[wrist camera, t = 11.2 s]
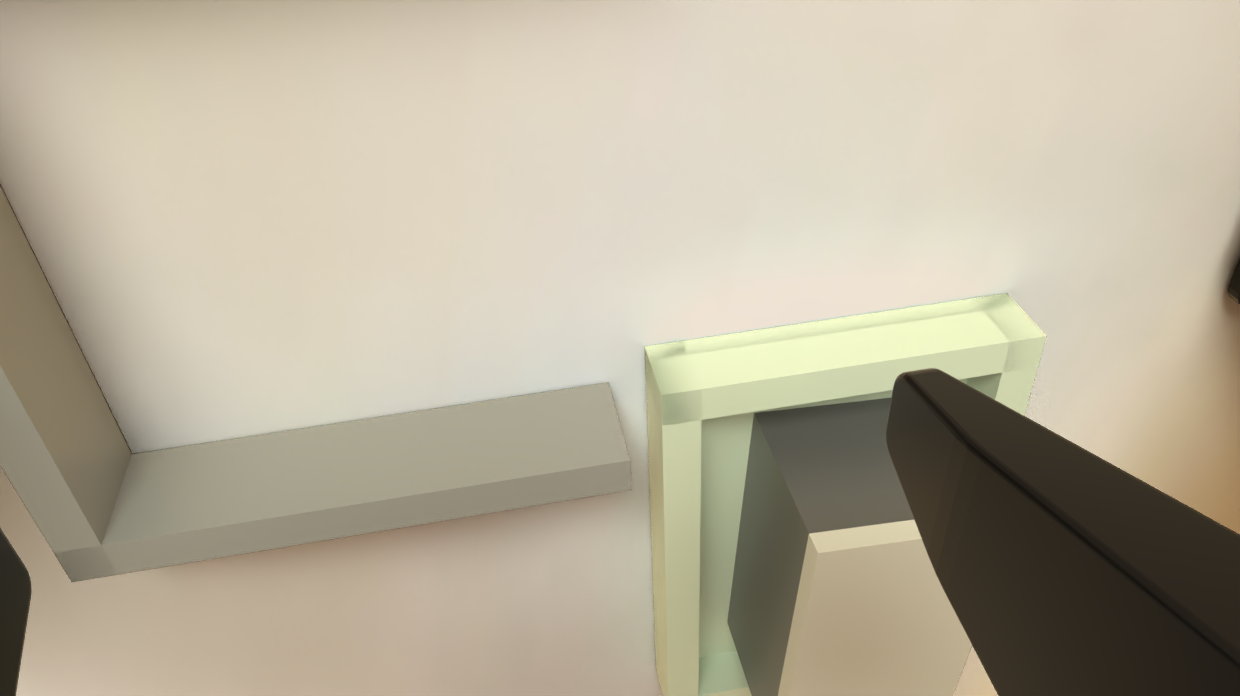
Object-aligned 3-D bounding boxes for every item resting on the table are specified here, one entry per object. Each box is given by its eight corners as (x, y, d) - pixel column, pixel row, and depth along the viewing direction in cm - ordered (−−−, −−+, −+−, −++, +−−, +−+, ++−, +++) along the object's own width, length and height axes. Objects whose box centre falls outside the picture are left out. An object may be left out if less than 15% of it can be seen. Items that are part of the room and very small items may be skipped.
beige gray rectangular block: (925, 393, 26) (1018, 525, 22) (870, 600, 32) (937, 736, 28) (753, 412, 26) (817, 552, 22) (727, 622, 31) (774, 764, 27)
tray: (1007, 293, 25) (1046, 336, 24) (927, 616, 34) (953, 663, 32) (644, 346, 24) (661, 395, 23) (655, 667, 33) (669, 719, 31)
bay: (562, -314, 16) (590, -307, 13) (610, 411, 25) (631, 489, 23) (-294, -262, 14) (-433, -243, 12) (104, 489, 24) (72, 582, 21)
